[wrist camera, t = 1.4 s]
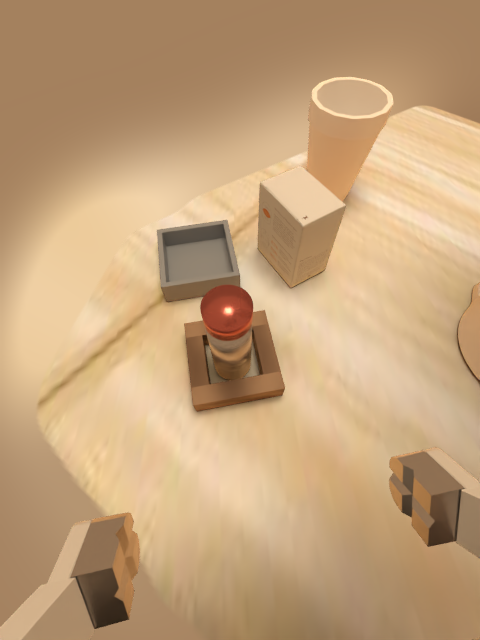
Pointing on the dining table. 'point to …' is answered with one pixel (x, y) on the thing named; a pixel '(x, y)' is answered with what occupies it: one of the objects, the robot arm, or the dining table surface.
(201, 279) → the tray
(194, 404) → the wooden square frame
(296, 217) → the small box
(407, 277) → the dining table surface
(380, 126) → the foam cup
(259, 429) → the dining table surface
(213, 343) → the red-lidded jar
